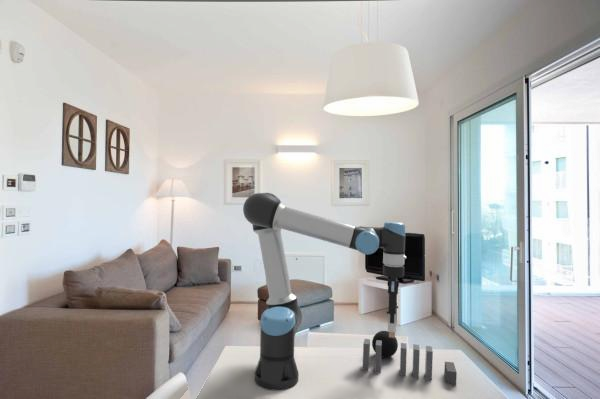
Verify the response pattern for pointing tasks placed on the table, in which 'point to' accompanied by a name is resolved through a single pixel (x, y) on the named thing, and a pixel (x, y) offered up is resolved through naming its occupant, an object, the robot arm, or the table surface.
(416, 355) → the domino
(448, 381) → the block
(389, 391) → the table surface
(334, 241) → the robot arm
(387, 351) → the black ball
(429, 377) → the domino
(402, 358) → the domino
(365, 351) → the domino
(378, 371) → the domino
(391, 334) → the domino
